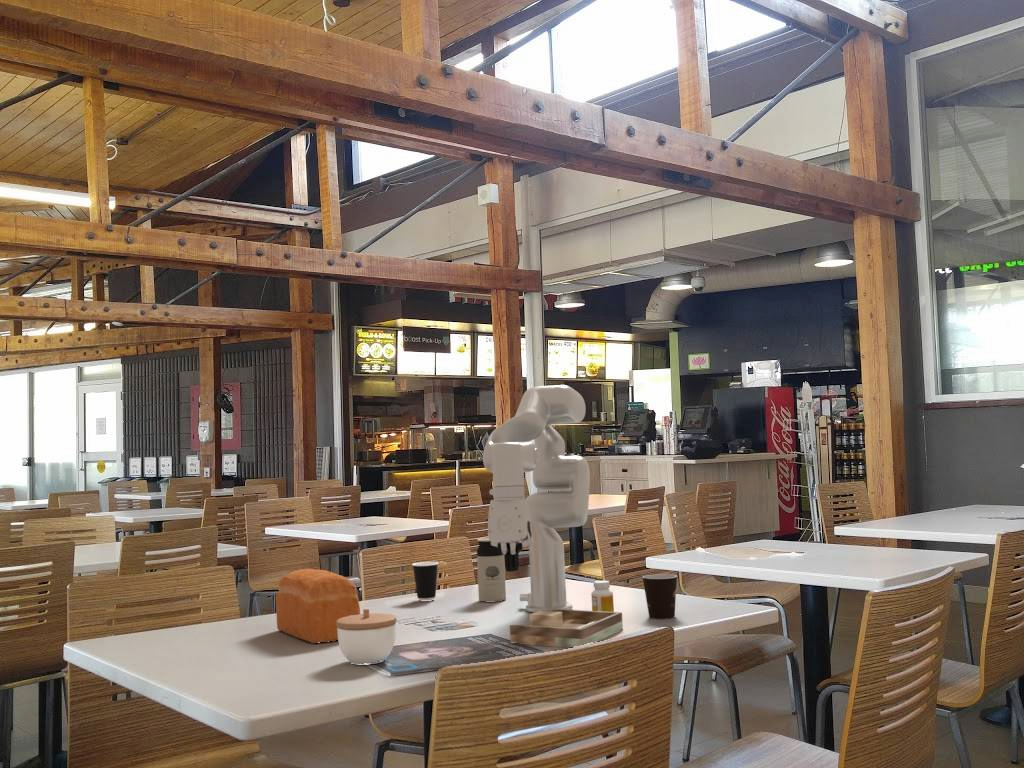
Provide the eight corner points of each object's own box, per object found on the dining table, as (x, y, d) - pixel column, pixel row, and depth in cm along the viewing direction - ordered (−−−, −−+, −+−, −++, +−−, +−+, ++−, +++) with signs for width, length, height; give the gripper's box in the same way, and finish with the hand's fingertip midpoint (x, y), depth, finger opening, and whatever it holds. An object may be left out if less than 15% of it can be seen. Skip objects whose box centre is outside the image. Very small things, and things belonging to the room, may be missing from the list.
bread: (323, 623, 246) (322, 563, 247) (364, 637, 224) (362, 571, 226) (272, 631, 239) (271, 569, 240) (310, 646, 217) (308, 577, 218)
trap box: (510, 643, 210) (509, 625, 210) (555, 625, 229) (554, 609, 229) (582, 648, 201) (581, 629, 201) (622, 629, 220) (621, 612, 220)
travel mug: (481, 598, 277) (478, 537, 278) (507, 597, 276) (505, 536, 277) (476, 603, 269) (474, 540, 270) (503, 602, 268) (501, 539, 269)
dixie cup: (445, 599, 278) (443, 562, 279) (424, 603, 272) (423, 565, 273) (428, 597, 284) (427, 561, 284) (407, 601, 278) (406, 564, 279)
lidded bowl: (402, 664, 193) (400, 610, 194) (340, 671, 189) (339, 616, 190) (392, 653, 205) (390, 602, 206) (334, 659, 201) (333, 607, 202)
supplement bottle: (617, 619, 233) (615, 580, 234) (610, 623, 228) (608, 583, 229) (597, 618, 236) (595, 579, 236) (589, 622, 231) (587, 583, 231)
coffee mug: (669, 620, 228) (666, 579, 229) (638, 618, 234) (636, 578, 234) (690, 613, 238) (688, 573, 238) (660, 610, 243) (658, 572, 244)
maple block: (530, 627, 217) (529, 614, 217) (540, 623, 221) (539, 610, 221) (553, 628, 214) (552, 615, 214) (562, 624, 218) (562, 612, 218)
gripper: (474, 495, 224) (477, 572, 223) (528, 493, 217) (531, 573, 215) (490, 493, 231) (493, 568, 229) (543, 492, 224) (547, 569, 222)
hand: (512, 570), depth 222 cm, fingers closed
